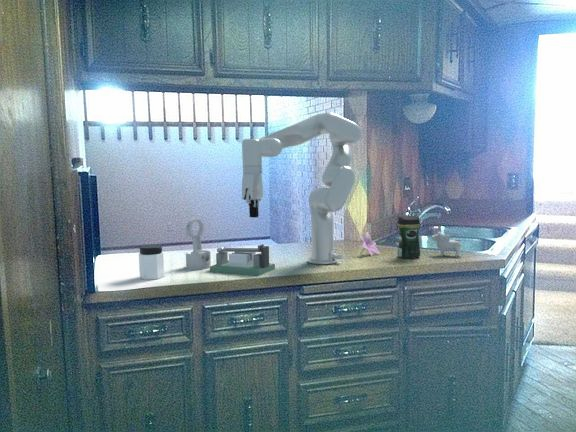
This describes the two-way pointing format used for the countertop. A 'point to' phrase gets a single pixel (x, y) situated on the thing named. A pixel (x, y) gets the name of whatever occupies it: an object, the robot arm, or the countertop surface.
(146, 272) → the jar
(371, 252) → the lily
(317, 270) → the countertop surface
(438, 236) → the dog figurine
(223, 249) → the thin grey bar
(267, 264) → the base
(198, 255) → the engine component
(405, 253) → the coffee jar
